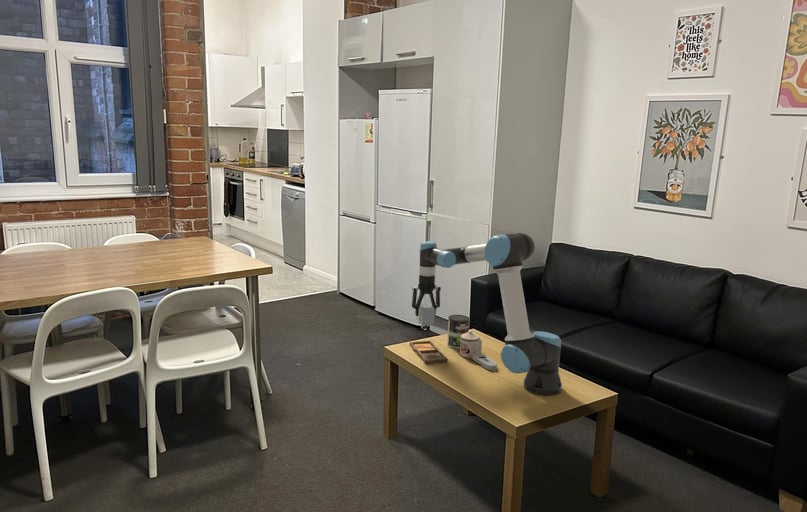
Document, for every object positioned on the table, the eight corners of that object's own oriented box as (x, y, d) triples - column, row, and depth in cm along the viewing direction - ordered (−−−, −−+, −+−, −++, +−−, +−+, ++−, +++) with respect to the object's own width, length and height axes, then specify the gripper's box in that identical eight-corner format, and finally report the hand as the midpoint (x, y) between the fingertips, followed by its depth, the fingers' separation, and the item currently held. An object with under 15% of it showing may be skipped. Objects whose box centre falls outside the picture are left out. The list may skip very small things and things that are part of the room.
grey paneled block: (434, 325, 265) (435, 308, 263) (422, 325, 263) (422, 308, 261) (428, 319, 273) (428, 302, 272) (416, 319, 272) (416, 303, 270)
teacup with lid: (455, 353, 266) (456, 330, 264) (469, 350, 271) (471, 326, 269) (472, 361, 257) (473, 337, 254) (487, 358, 262) (488, 334, 260)
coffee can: (471, 347, 275) (473, 320, 272) (452, 349, 271) (453, 321, 269) (462, 340, 284) (464, 313, 281) (443, 342, 281) (445, 315, 278)
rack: (447, 362, 255) (447, 358, 255) (425, 364, 252) (425, 360, 252) (430, 343, 278) (430, 340, 278) (409, 345, 275) (409, 342, 275)
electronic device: (491, 351, 244) (471, 339, 257) (489, 372, 247) (470, 359, 259) (501, 349, 247) (481, 337, 260) (499, 370, 249) (479, 357, 262)
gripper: (443, 272, 270) (441, 318, 274) (405, 273, 264) (403, 320, 269) (449, 275, 263) (446, 323, 267) (410, 277, 257) (408, 325, 262)
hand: (425, 321), depth 268 cm, fingers closed on grey paneled block, 6 cm apart
